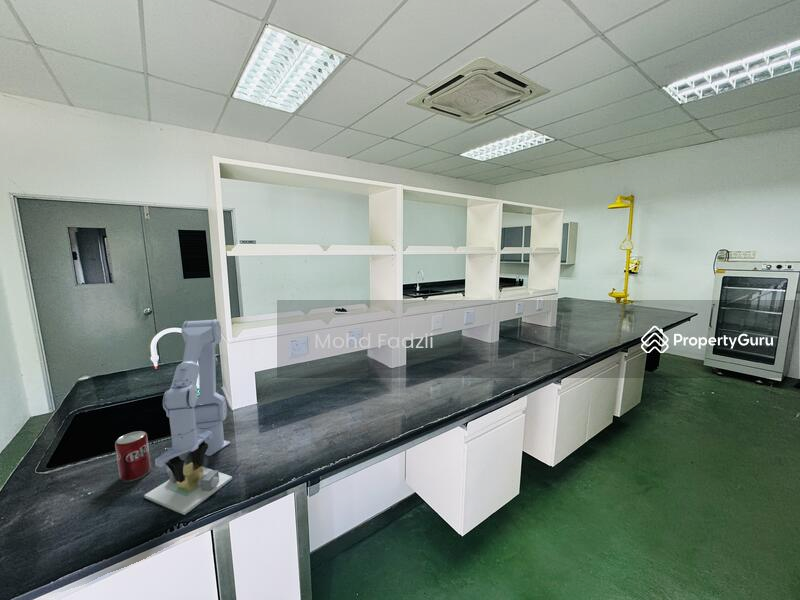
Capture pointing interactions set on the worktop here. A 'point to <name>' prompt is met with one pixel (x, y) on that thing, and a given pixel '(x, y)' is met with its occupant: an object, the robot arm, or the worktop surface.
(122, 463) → the soda can
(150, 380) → the worktop surface
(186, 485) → the block
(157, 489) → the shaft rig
